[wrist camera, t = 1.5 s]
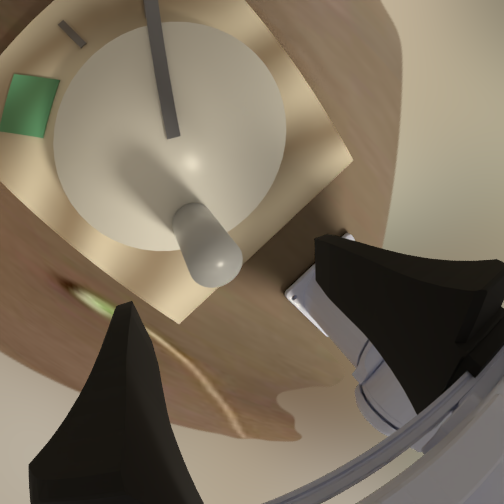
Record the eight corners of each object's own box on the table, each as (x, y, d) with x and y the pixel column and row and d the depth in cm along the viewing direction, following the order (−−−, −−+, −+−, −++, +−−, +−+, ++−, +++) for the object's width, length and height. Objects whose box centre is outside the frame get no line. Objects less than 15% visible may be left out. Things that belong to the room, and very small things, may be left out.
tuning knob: (35, 1, 8) (0, -39, 3) (252, -39, 12) (302, -82, 6) (97, 268, 17) (91, 333, 12) (286, 210, 20) (341, 248, 15)
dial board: (341, 156, 23) (355, 160, 21) (175, 312, 23) (179, 325, 22) (166, -64, 10) (170, -76, 9) (-39, 124, 11) (-51, 127, 9)
